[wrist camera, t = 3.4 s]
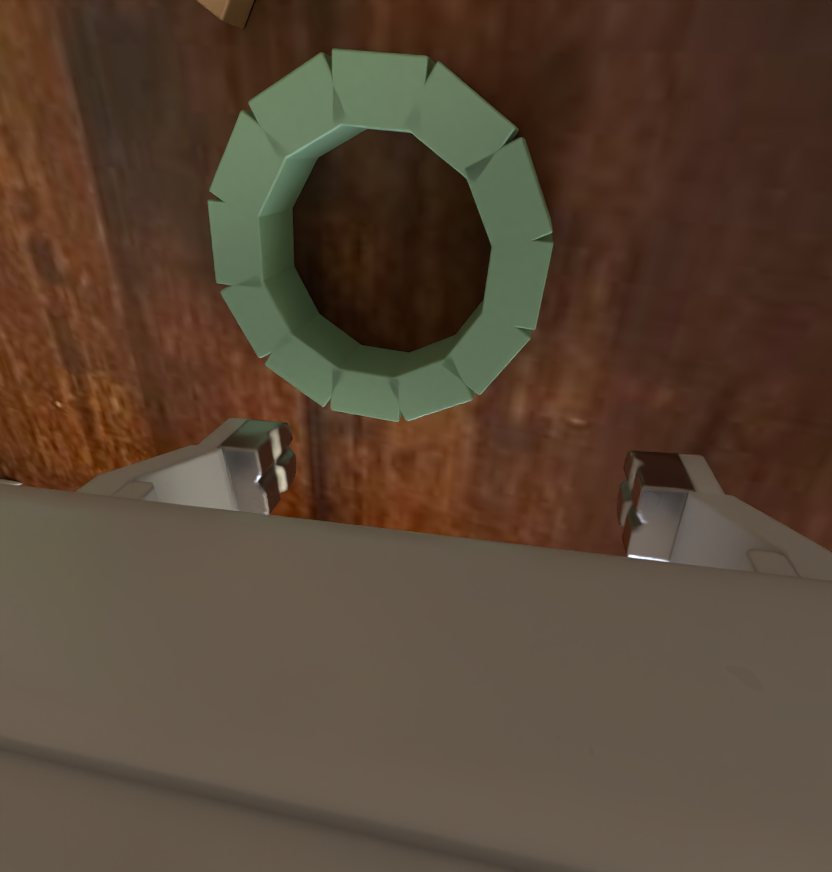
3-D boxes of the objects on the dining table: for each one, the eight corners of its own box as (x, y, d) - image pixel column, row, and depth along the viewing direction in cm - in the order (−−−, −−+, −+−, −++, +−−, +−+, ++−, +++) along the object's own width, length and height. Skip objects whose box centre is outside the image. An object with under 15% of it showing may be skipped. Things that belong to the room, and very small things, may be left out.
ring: (340, -24, 17) (305, -54, 15) (619, 215, 19) (632, 225, 16) (207, 279, 23) (165, 295, 21) (425, 438, 25) (412, 471, 22)
